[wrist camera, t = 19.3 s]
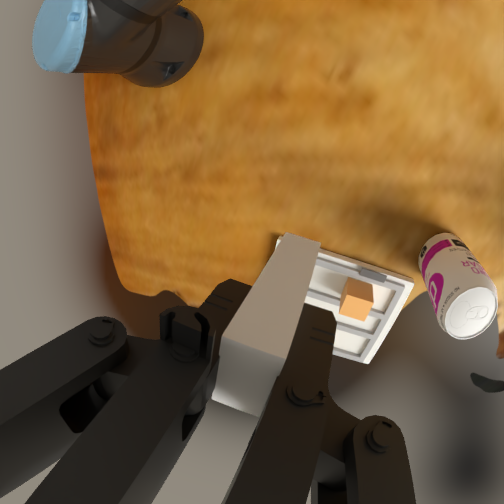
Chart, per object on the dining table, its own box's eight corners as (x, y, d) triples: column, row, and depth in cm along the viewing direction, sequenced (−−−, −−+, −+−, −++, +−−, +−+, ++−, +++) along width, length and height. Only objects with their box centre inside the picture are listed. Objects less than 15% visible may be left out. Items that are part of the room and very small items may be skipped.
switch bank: (257, 324, 53) (253, 332, 51) (280, 234, 44) (276, 240, 42) (368, 359, 48) (367, 368, 46) (413, 277, 40) (416, 286, 38)
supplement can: (416, 282, 40) (434, 346, 27) (418, 232, 37) (446, 284, 24) (461, 279, 37) (491, 339, 24) (466, 229, 34) (508, 279, 21)
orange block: (340, 295, 43) (338, 313, 39) (348, 276, 42) (347, 294, 37) (364, 302, 42) (364, 321, 38) (372, 284, 41) (373, 302, 37)
